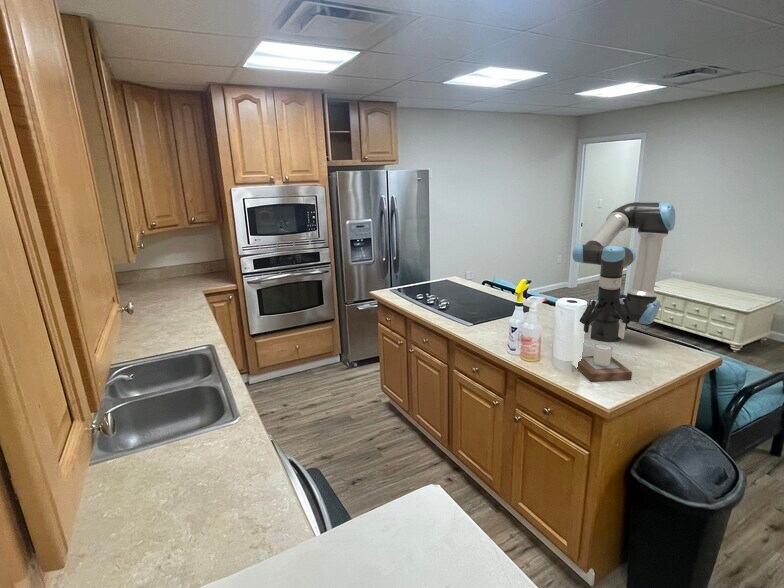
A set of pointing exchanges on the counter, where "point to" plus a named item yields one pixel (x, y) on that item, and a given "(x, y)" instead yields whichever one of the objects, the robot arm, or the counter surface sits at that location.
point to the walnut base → (603, 370)
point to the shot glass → (602, 354)
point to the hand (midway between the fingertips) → (604, 338)
